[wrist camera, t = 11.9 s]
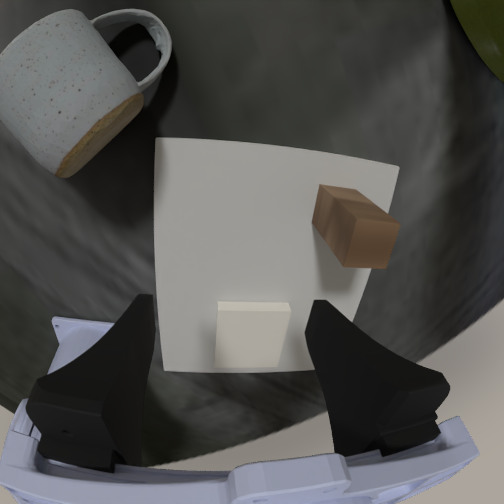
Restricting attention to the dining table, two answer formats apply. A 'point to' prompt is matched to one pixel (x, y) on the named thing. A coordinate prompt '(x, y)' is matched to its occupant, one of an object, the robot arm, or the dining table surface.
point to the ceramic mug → (72, 86)
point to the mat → (249, 240)
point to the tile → (250, 333)
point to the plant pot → (484, 30)
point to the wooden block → (354, 227)
